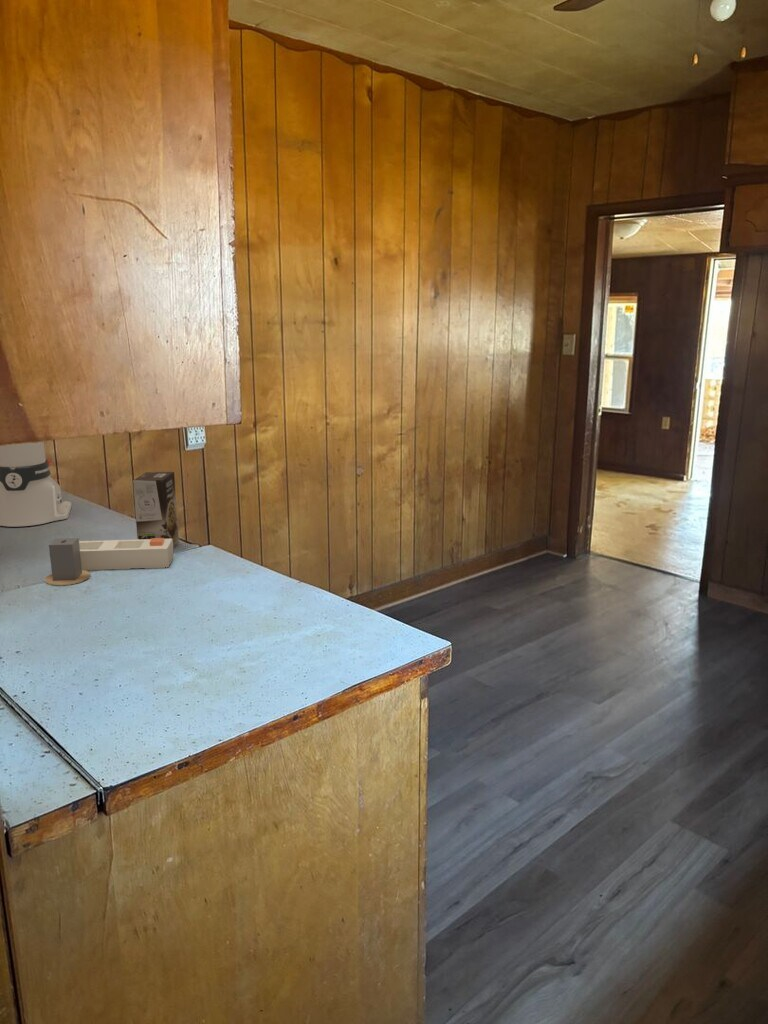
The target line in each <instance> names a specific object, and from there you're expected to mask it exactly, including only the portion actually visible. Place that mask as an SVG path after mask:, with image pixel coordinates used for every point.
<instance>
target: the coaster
mask: <svg viewBox="0 0 768 1024" xmlns="http://www.w3.org/2000/svg"><path fill="white" fill-rule="evenodd" d="M89 577H90V578H91V573H90V572H89V570H82V573H81V575H80V576H79V577H78V578H77V579H76V580H58V581H53V578H52V573H50V574H49V575H47V576H46V577H45V578H44V579H45V580H44V581H45V583H46V584H47V583H48V584H47V585H49V584H50V586H54V585H61V586H60V587H63V585H66V586H71V584H74V585H77V584H76V583H78V584H81V583H83V582H82V581H84V580H86V581H88V580H89V579H90V578H89ZM88 578H89V579H88ZM87 579H88V580H87ZM80 582H81V583H80ZM84 582H85V581H84Z"/></svg>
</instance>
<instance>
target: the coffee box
mask: <svg viewBox="0 0 768 1024" xmlns="http://www.w3.org/2000/svg"><path fill="white" fill-rule="evenodd" d="M132 483H133V484H132V485H133V497H134V498H133V499H134V509H135V510H134V512H135V523H136V524H135V525H136V537H137V539H136V540H139V539H152V538H164V539H173V549H174V548H175V547H176V546H177V545H178V544H179V542H180V539H179V525H178V523H179V522H178V510H177V497H176V495H177V494H176V481H175V472H174V471H154V472H150V471H149V472H146V471H145V472H144V473H143V474H141V475H140V476H138V477H136V478H135V479H133V480H132Z"/></svg>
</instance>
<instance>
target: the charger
mask: <svg viewBox="0 0 768 1024" xmlns="http://www.w3.org/2000/svg"><path fill="white" fill-rule="evenodd" d="M79 539H80V538H79V537H71V538H69V537H66V538H55V539H54V540H53V541H51V542H50V543H49V544H48V548H49V549H48V550H49V558H50V559H49V560H50V569H51V574H52V578H53V581H58V580H76V579H77V578H78V577H79V576H80V575H81V573H82V566H81V557H80V547H79V541H80V540H79Z"/></svg>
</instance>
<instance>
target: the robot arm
mask: <svg viewBox="0 0 768 1024" xmlns="http://www.w3.org/2000/svg"><path fill="white" fill-rule="evenodd" d="M51 465H52V462H51V460H50V458H47V459H46V451H45V443H44V442H38V443H27V444H18V445H6V446H0V527H2V526H3V527H13V528H14V527H15V528H16V527H28V526H29V527H30V526H38V525H43V524H48V523H50V522H56V521H62V520H68V519H69V515H70V513H71V511H72V510H71V509H72V507H73V505H72V504H73V503H72V502H71V501H67V500H63V499H62V491H61V485H60V484H59V483H58V482H57V481H55V479H54V478H52V476H51V470H50V469H51V468H50V467H51Z"/></svg>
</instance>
